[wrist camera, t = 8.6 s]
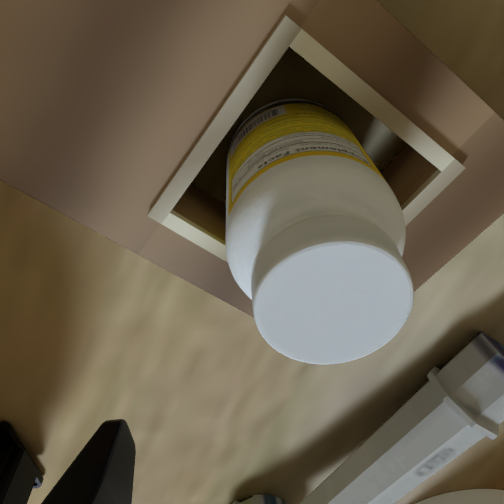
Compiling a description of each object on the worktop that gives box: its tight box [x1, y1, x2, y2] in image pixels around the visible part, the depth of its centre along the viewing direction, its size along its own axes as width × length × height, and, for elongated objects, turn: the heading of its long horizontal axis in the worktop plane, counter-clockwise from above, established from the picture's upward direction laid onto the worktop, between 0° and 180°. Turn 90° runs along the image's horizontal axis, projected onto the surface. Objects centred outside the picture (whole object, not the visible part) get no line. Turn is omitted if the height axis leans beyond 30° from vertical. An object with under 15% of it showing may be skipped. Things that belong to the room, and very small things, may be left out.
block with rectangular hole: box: [0, 0, 504, 317], centre depth 17 cm, size 20×12×3 cm, turn 54°
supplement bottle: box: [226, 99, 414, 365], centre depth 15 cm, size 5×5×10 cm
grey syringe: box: [232, 332, 504, 504], centre depth 29 cm, size 5×7×25 cm
